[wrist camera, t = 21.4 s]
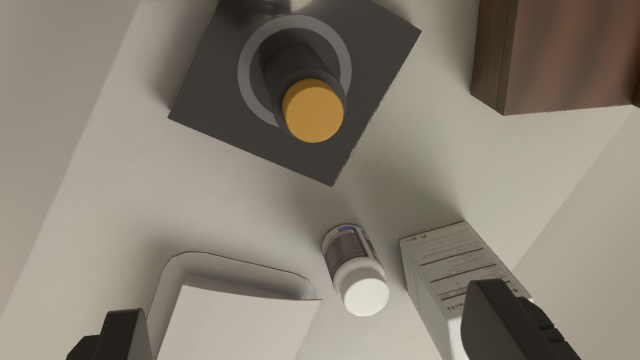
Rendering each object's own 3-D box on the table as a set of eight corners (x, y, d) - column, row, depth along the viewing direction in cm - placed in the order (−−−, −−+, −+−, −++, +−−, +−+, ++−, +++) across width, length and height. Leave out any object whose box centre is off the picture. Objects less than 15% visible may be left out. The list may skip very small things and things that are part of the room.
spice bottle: (253, 59, 39) (262, 96, 30) (311, 34, 39) (337, 63, 30) (279, 114, 41) (294, 163, 32) (333, 90, 41) (363, 133, 32)
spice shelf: (470, 94, 46) (513, 122, 39) (482, -26, 41) (533, -19, 34) (593, 85, 47) (655, 110, 40) (617, -32, 43) (691, -26, 36)
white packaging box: (472, 275, 55) (537, 364, 43) (406, 294, 54) (454, 388, 43) (468, 217, 51) (536, 297, 40) (397, 237, 51) (446, 322, 40)
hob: (247, -70, 37) (248, -70, 35) (414, 26, 42) (423, 31, 40) (169, 110, 42) (166, 119, 40) (328, 178, 47) (332, 188, 45)
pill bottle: (313, 257, 50) (329, 313, 43) (333, 217, 49) (353, 268, 41) (356, 269, 52) (378, 325, 44) (376, 230, 50) (403, 282, 43)
